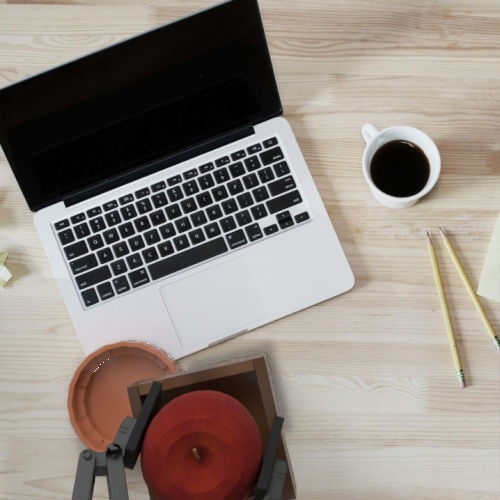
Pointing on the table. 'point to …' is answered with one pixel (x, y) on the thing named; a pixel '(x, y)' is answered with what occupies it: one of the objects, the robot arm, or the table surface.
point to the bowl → (111, 388)
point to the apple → (202, 449)
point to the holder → (237, 386)
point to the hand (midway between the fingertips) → (216, 408)
